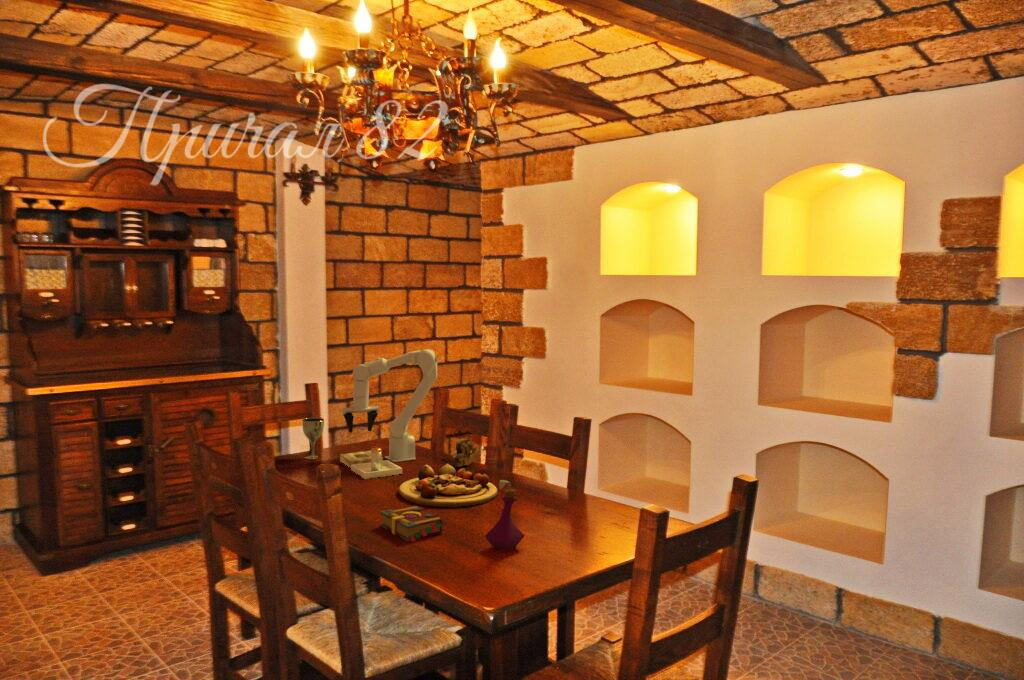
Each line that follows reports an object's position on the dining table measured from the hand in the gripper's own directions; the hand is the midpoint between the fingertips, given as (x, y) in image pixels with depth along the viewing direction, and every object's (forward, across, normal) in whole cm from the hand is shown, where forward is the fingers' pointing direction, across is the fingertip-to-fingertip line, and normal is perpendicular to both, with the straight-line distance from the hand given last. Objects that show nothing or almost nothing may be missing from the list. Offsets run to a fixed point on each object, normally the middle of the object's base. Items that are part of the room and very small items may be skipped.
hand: (360, 431), depth 279 cm
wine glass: (+11, +16, -8) cm, 20 cm away
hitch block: (+10, +2, +8) cm, 14 cm away
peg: (+10, +2, +22) cm, 24 cm away
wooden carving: (+10, -30, +28) cm, 43 cm away
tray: (+10, +2, +22) cm, 25 cm away
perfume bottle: (+10, +2, +106) cm, 107 cm away
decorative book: (+10, +17, +83) cm, 85 cm away
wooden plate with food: (+10, -8, +56) cm, 58 cm away
